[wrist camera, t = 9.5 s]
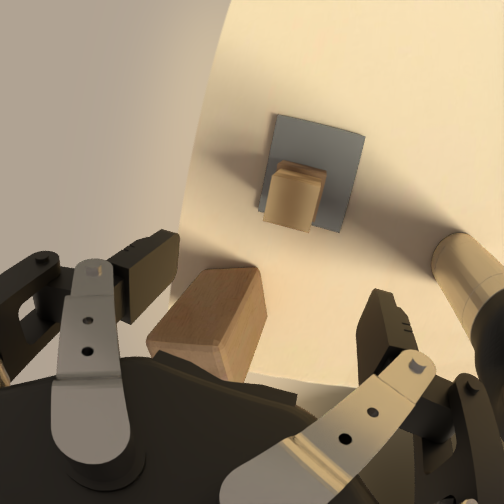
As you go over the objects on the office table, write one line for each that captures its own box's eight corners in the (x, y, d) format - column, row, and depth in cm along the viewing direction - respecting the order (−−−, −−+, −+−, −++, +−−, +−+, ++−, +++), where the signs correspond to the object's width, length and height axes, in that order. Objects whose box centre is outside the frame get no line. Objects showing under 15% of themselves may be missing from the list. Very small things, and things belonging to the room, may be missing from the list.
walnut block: (326, 170, 39) (326, 175, 35) (315, 212, 42) (314, 222, 37) (283, 159, 40) (277, 163, 35) (274, 201, 42) (267, 209, 38)
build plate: (364, 136, 37) (365, 136, 36) (339, 230, 43) (339, 232, 42) (278, 114, 39) (277, 114, 38) (259, 209, 44) (257, 211, 44)
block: (202, 267, 51) (140, 339, 33) (260, 264, 48) (219, 345, 30) (214, 317, 54) (166, 397, 36) (269, 318, 51) (237, 407, 33)
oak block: (321, 178, 35) (320, 187, 30) (311, 217, 37) (308, 232, 32) (280, 168, 36) (272, 175, 30) (272, 207, 38) (262, 220, 32)
